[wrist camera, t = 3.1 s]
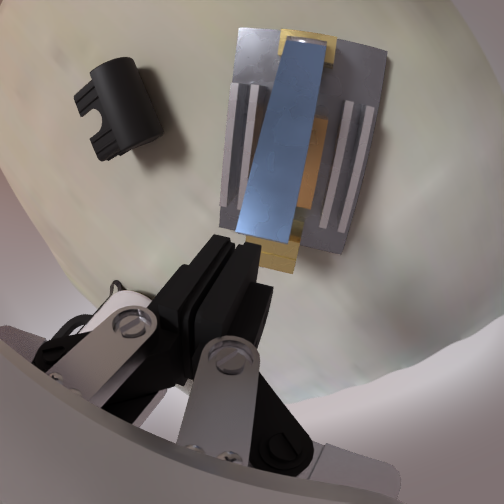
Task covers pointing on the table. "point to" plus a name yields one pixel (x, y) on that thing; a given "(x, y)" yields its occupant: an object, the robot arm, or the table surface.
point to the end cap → (119, 108)
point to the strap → (283, 143)
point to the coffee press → (104, 310)
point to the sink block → (321, 141)
